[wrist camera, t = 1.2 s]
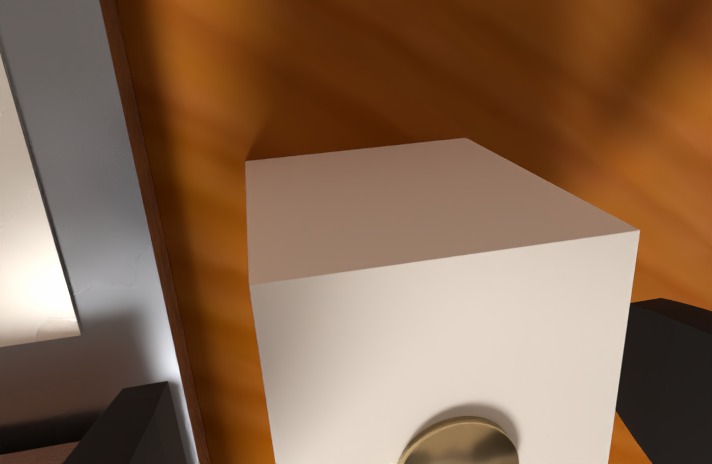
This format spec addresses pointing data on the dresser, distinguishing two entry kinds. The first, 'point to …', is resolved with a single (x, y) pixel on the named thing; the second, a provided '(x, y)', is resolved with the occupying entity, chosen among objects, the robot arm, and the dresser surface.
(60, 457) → the block
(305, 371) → the block
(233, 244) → the dresser surface
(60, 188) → the base plate
